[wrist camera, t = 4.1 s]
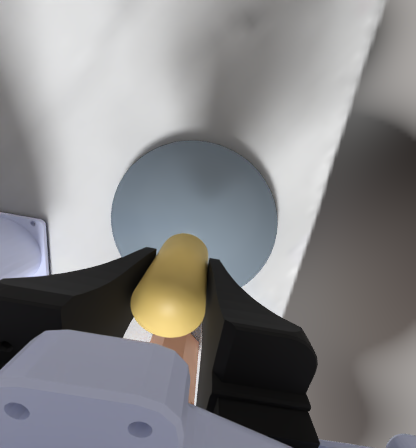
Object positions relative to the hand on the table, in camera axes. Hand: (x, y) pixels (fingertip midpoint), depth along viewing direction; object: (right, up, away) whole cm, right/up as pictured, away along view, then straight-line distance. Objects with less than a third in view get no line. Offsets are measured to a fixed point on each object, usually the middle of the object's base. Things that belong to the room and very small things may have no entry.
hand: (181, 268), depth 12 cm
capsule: (0, +1, +1) cm, 1 cm away
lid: (0, +2, +8) cm, 8 cm away
